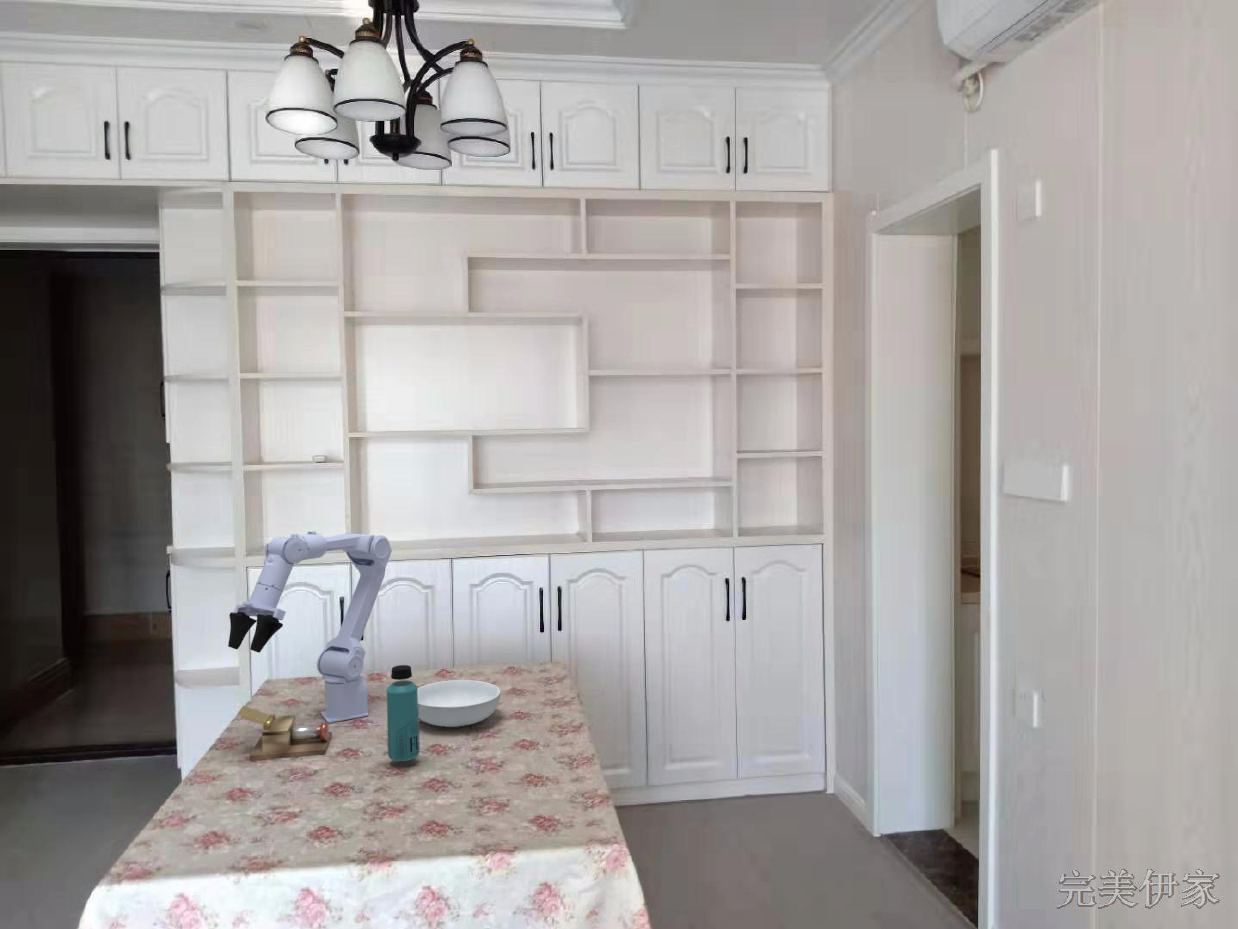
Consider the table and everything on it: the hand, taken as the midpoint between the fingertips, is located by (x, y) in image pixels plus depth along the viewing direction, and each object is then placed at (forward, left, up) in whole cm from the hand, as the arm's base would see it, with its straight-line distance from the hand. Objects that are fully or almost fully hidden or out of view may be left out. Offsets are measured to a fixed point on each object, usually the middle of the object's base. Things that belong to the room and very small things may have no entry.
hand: (243, 649), depth 181 cm
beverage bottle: (-27, +22, -23) cm, 42 cm away
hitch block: (-9, +1, -22) cm, 24 cm away
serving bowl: (-45, +4, -23) cm, 51 cm away
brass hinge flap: (-2, -1, -15) cm, 16 cm away
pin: (-11, +2, -21) cm, 24 cm away
